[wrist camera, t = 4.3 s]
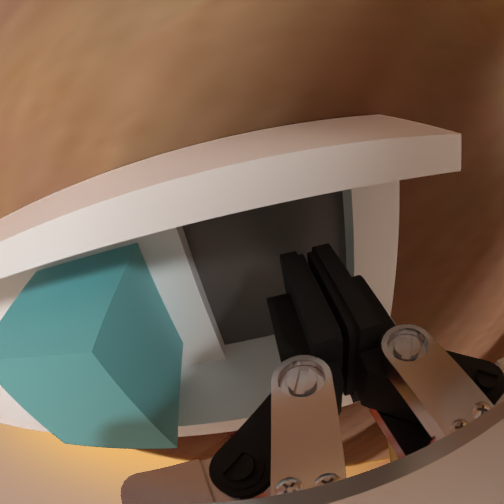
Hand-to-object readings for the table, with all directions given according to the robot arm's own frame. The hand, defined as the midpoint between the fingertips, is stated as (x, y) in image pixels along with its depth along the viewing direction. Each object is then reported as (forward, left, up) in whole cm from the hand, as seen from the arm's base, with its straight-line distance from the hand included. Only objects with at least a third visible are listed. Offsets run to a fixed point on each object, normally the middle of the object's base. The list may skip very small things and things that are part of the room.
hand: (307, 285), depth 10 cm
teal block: (0, -8, -1) cm, 8 cm away
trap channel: (0, -8, -2) cm, 8 cm away
